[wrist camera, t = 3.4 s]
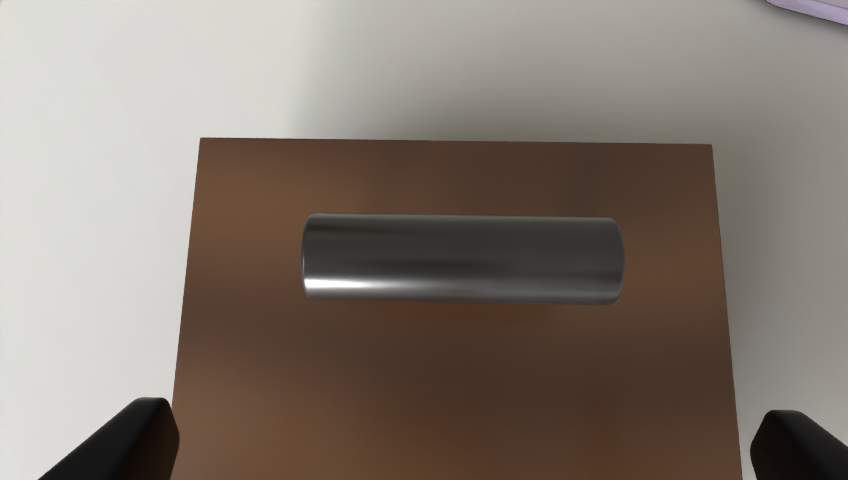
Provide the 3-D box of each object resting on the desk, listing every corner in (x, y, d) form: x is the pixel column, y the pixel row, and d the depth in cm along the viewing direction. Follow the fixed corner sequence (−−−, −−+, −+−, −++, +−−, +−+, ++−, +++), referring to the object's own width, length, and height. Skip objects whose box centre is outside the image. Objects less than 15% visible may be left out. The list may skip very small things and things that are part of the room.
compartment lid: (211, 148, 15) (117, 56, 10) (698, 154, 15) (814, 63, 10) (166, 589, 13) (24, 711, 8) (736, 602, 13) (905, 735, 8)
